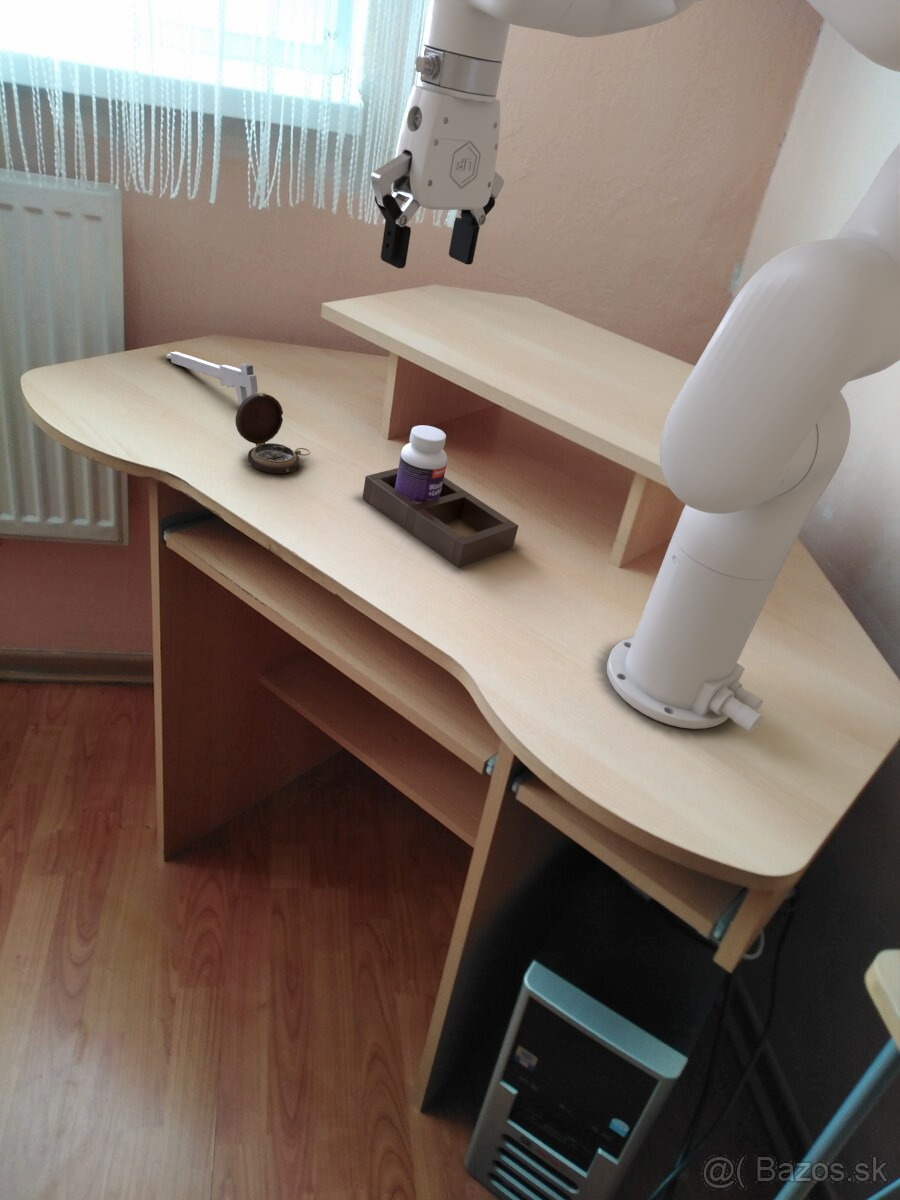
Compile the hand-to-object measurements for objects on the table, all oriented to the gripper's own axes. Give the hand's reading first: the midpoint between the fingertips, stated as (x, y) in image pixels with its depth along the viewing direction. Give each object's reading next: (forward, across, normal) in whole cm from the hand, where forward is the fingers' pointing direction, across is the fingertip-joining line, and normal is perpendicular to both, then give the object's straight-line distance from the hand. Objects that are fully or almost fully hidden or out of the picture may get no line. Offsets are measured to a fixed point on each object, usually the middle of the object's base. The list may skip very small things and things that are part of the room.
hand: (427, 262), depth 93 cm
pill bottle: (+27, 0, -5) cm, 28 cm away
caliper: (+27, -4, +34) cm, 44 cm away
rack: (+27, 0, -9) cm, 28 cm away
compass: (+27, -8, +12) cm, 31 cm away
